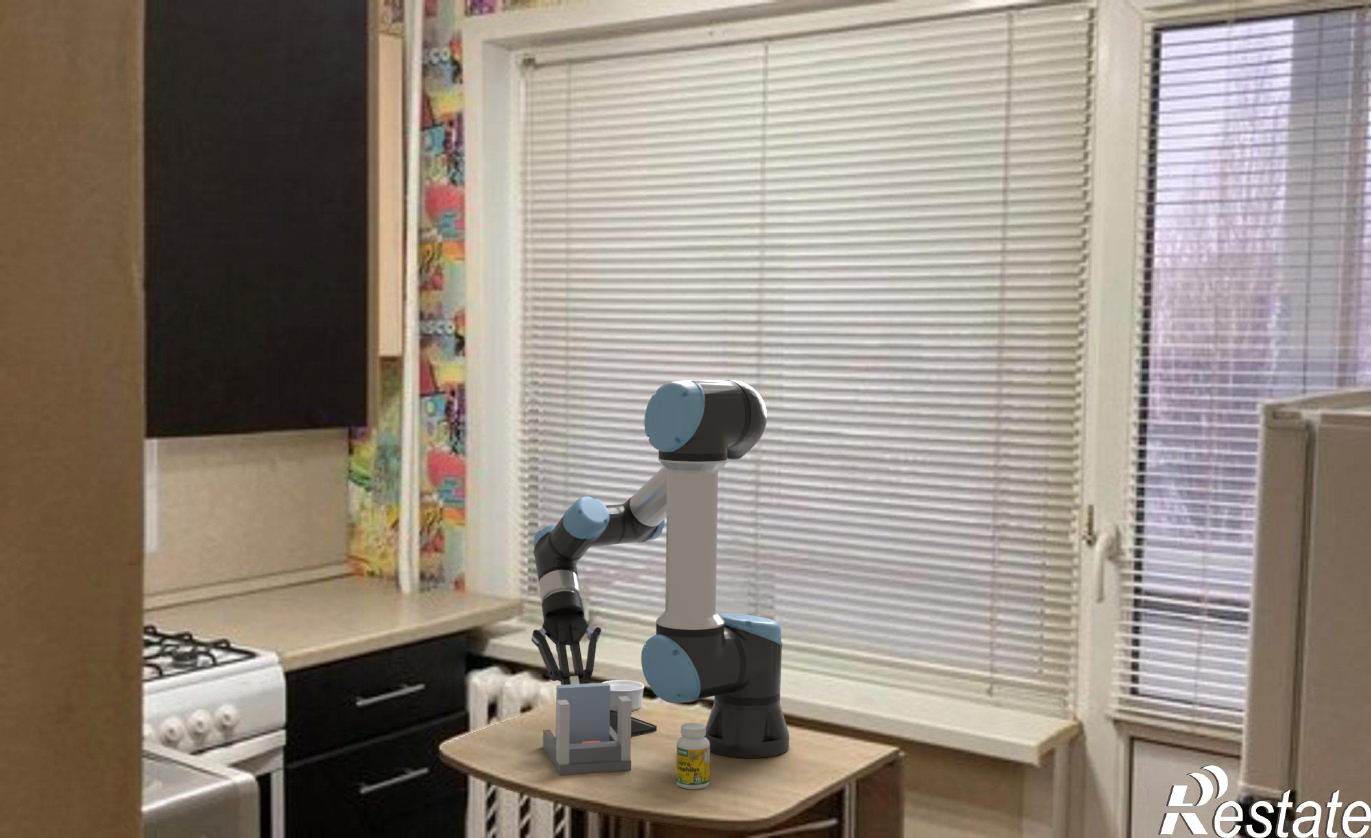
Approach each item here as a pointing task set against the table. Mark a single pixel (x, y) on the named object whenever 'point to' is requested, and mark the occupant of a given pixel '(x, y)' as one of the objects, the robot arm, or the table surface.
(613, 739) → the housing
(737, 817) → the table surface
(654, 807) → the table surface
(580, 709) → the blue-grey rectangular panel
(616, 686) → the ramekin
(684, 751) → the supplement bottle
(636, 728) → the phone
